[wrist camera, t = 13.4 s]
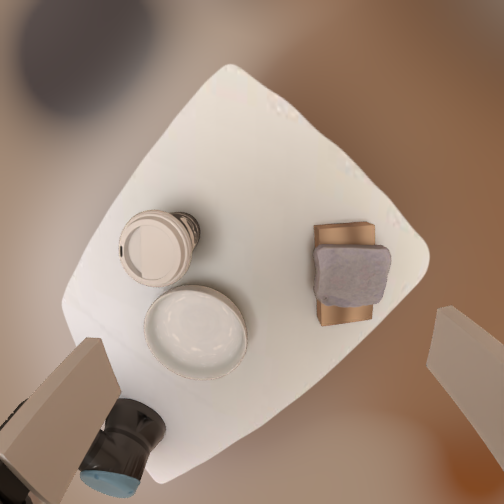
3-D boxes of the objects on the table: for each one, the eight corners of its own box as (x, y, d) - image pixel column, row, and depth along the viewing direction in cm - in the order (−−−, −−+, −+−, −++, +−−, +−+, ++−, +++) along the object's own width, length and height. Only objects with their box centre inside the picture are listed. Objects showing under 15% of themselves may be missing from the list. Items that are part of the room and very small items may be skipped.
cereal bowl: (266, 307, 49) (268, 326, 42) (220, 371, 52) (216, 394, 45) (180, 257, 47) (168, 269, 40) (143, 329, 50) (129, 347, 43)
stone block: (375, 293, 45) (385, 239, 41) (384, 309, 41) (397, 252, 37) (308, 295, 46) (312, 238, 42) (311, 312, 42) (317, 251, 37)
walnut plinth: (316, 315, 49) (321, 326, 45) (313, 225, 45) (319, 229, 41) (364, 309, 48) (371, 319, 45) (365, 221, 45) (374, 225, 41)
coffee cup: (166, 193, 44) (127, 198, 30) (219, 217, 45) (201, 233, 31) (146, 245, 46) (104, 270, 32) (195, 269, 47) (171, 305, 33)
